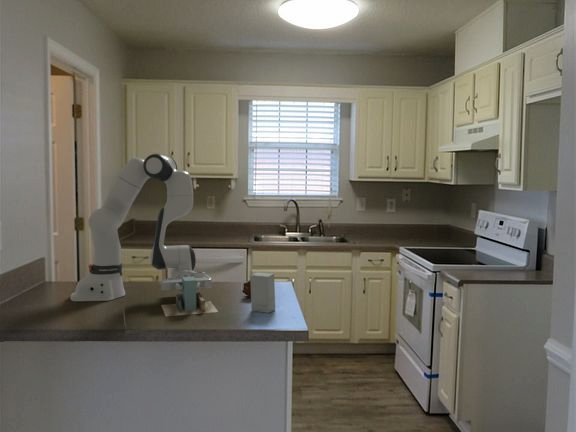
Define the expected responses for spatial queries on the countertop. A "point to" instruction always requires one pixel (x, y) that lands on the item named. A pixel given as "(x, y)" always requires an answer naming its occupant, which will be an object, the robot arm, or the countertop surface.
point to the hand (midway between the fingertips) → (189, 287)
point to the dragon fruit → (247, 288)
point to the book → (189, 293)
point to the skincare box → (262, 292)
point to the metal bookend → (178, 303)
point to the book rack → (200, 308)
